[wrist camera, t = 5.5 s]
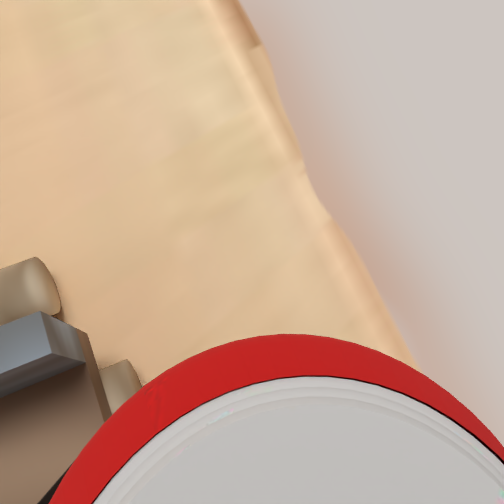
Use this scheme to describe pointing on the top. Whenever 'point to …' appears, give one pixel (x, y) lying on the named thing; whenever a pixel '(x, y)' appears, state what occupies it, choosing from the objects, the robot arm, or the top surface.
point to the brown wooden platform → (50, 402)
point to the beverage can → (289, 433)
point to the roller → (27, 291)
